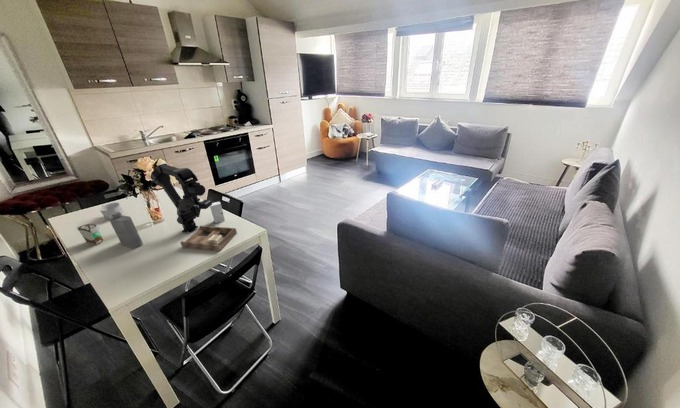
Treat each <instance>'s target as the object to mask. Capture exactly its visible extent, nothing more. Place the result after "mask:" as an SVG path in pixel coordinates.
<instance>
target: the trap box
mask: <svg viewBox="0 0 680 408" xmlns="http://www.w3.org/2000/svg"><path fill="white" fill-rule="evenodd" d="M237 234H238V231H237V228H236V227H235V228H234V227H224V226H212V225H211V226H210V225H200V226H199V229H198V230H197V231H195V232H194V233H193V234H192V235H191V236H190V237H189V238H187V239H186V240H185V241H183V240H181V241H180V246H181V248H183V249H192V250H193V249H194V250H202V251H203V250H204V251H213V252H222V250H223V249H224V248H225V247H226V246H227V245H228V244H229V243H230V242H231V241H232V240H233V238H234V237H235V236H236V235H237ZM213 235H222V237H223V239H222V240H221V241H220V242H219V243H218V245H217V244H209V241H208V239H209V238H211V237H212V236H213Z"/></svg>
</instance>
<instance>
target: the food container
mask: <svg viewBox="0 0 680 408" xmlns="http://www.w3.org/2000/svg"><path fill="white" fill-rule="evenodd" d="M76 228H77V231H78V232H79V233H80V235H82V237H83V239H84V240H85V242H86V243H87V244H91V245H96V246H98V245H100V244H102V242H103V241H104V239H103V236H102V234H101V232H100V230H99V229H100V227H99V225H98V224H96V223H86V224H82V225H79V226H77V227H76Z"/></svg>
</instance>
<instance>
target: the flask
mask: <svg viewBox="0 0 680 408" xmlns="http://www.w3.org/2000/svg"><path fill="white" fill-rule="evenodd" d="M107 219H108V221H109V222H110V224H111V226H112V229H113V231H114V233H116V234H115V235H116V236H117V238H118V240H119V243H120V244H121V245H122V246H124V247H126V248H131V249H136V248H141V246H143V245H144V243H143V240H142V238H141V237H140V234H139V232H138V229H137V228H136V226H135V223H134V222H133V220H132V217H131V216H130V215H129V216H128V215H122V214H120V212H115V213H113V214H111V215H109V216H108V218H107Z"/></svg>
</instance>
